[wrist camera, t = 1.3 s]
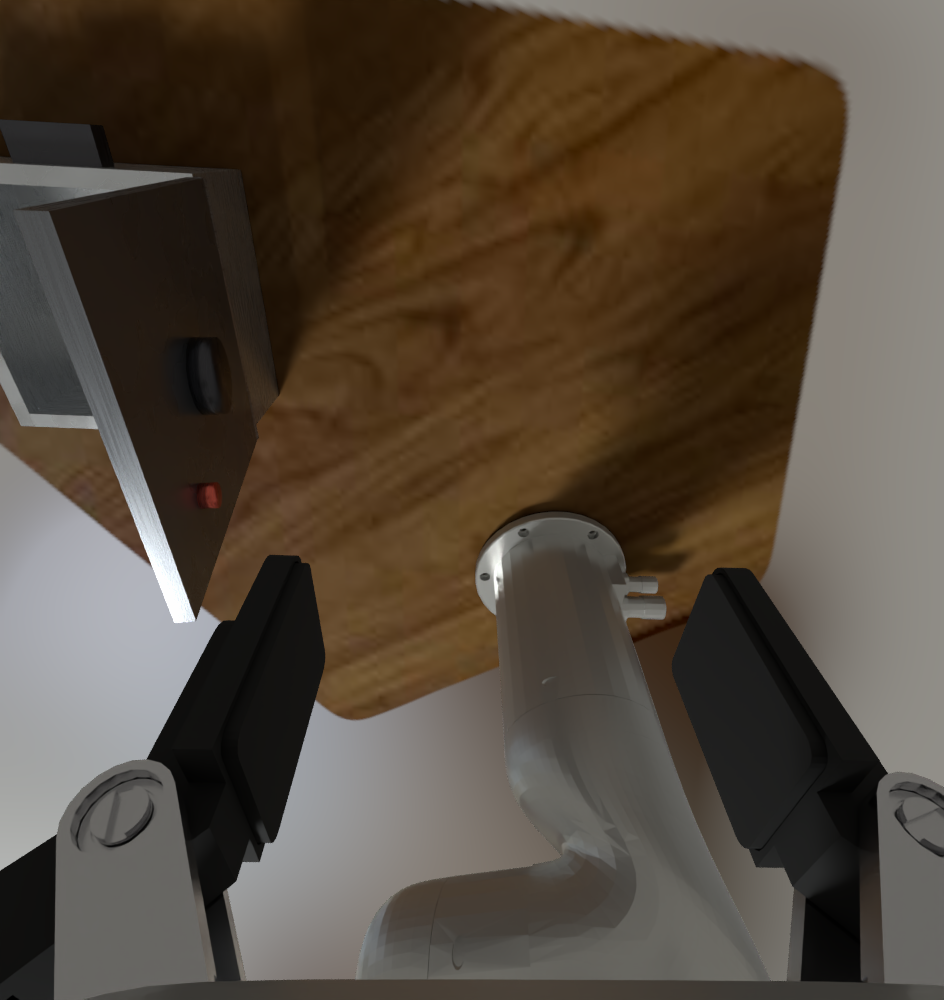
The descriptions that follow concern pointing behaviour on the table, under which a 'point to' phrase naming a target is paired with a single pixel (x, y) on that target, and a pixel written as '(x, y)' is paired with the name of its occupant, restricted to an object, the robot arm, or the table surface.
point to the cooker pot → (21, 298)
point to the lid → (154, 362)
